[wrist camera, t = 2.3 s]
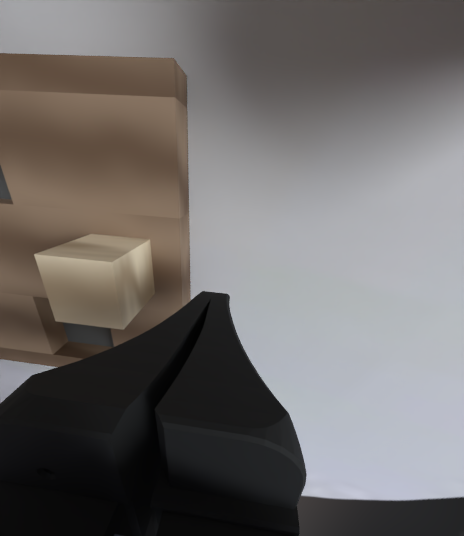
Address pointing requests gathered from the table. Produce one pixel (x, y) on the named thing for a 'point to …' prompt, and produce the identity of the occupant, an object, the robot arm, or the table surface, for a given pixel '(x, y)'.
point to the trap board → (89, 187)
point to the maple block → (98, 279)
